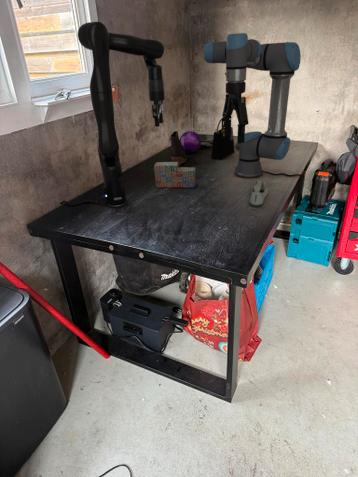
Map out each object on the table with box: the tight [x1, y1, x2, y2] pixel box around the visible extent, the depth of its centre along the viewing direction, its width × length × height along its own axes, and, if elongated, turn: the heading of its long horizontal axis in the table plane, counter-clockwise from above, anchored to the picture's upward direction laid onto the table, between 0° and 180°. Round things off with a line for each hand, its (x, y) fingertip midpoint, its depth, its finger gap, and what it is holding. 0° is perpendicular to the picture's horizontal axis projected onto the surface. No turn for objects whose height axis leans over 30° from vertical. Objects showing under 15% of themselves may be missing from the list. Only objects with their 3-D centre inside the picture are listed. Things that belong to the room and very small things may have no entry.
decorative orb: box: [179, 130, 202, 154], centre depth 230 cm, size 15×15×15 cm
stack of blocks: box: [153, 161, 197, 189], centre depth 177 cm, size 21×6×12 cm, turn 80°
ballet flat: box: [249, 179, 269, 207], centre depth 158 cm, size 8×24×8 cm, turn 163°
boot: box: [169, 130, 188, 166], centre depth 211 cm, size 9×24×20 cm, turn 168°
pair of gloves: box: [199, 134, 214, 149], centre depth 251 cm, size 30×26×5 cm
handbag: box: [210, 116, 235, 160], centre depth 218 cm, size 21×9×25 cm, turn 148°
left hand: (159, 124), depth 166 cm, fingers open, 8 cm apart
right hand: (233, 139), depth 134 cm, fingers open, 13 cm apart
